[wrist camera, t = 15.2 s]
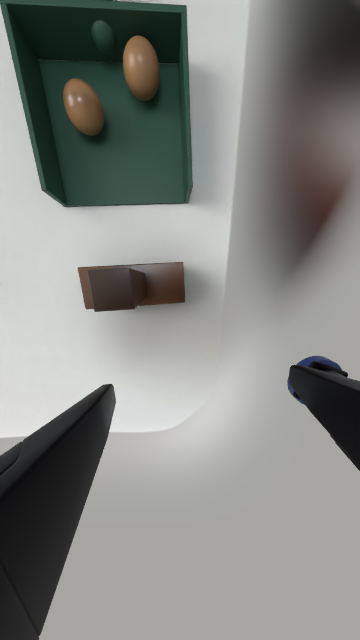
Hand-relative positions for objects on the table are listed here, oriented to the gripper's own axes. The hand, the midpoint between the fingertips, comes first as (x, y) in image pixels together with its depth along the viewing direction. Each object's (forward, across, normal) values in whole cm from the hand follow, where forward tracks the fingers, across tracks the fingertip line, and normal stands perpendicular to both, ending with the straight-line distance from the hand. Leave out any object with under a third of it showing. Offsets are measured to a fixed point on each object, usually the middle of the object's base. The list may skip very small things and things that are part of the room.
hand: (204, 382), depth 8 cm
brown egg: (+11, +7, -20) cm, 24 cm away
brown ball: (+11, +2, -22) cm, 25 cm away
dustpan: (+13, +5, -23) cm, 27 cm away
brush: (+13, +5, -5) cm, 15 cm away
